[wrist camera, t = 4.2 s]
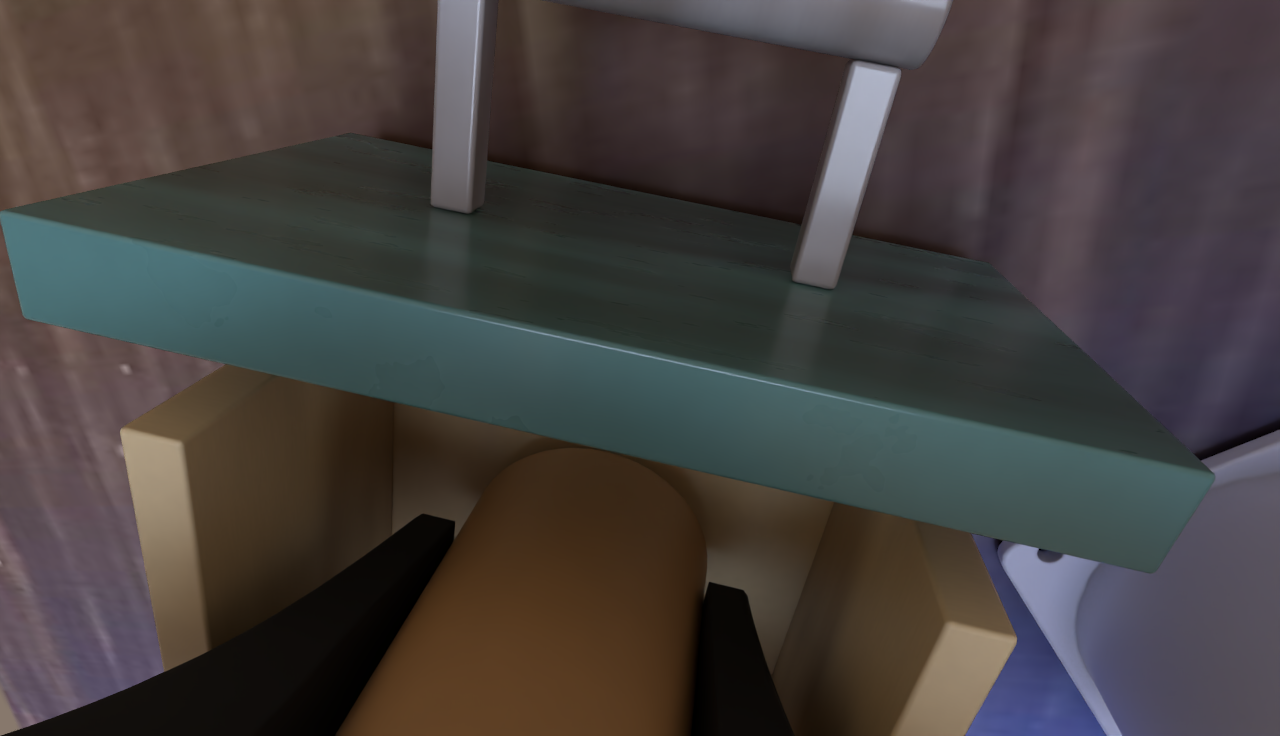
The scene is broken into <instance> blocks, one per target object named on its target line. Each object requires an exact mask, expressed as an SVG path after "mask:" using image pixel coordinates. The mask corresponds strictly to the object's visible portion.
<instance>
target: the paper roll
mask: <svg viewBox="0 0 1280 736" xmlns="http://www.w3.org/2000/svg"><path fill="white" fill-rule="evenodd" d="M706 573H707V549H706V542H705V538H704V535H703V532H702V529H701V527H700V524H699V522H698V520H697V518H696V516H695V514H694V513H693V511H692V510H691V508H690V507H689V505H688V504H687V502H686V501H685V500H684V499H683V498H682V496H681V495H680V494H679V493H678V492H677V491H676V490H675V489H674V488H673V487H672V486H671V485H670V484H669V483H668V482H666V481H665V480H664V479H663V478H661V477H660V476H658V475H657V474H656V473H654V472H653V471H651V470H650V469H648V468H646V467H644V466H642V465H640V464H639V463H637V462H634V461H632V460H629V459H627V458H625V457H622V456H619V455H615V454H612V453H609V452H605V451H599V450H593V449H584V448H563V449H554V450H548V451H543V452H539V453H536V454H533V455H530V456H527V457H525V458H523V459H521V460H519V461H517V462H515V463H513V464H511V465H510V466H508V467H507V468H506V469H504V470H503V471H501V472H500V473H499V474H498V475H497V476H496V477H495V478H494V479H493V480H492V481H491V482H490V484H489V485H488V486H487V488H486V489H485V490H484V492H483V494H482V495H481V497H480V499H479V500H478V502H477V503H476V505H475V507H474V508H473V510H472V512H471V513H470V515H469V517H468V518H467V520H466V521H465V523H464V525H463V526H462V528H461V530H460V531H459V533H458V535H457V536H456V538H455V540H454V541H453V543H452V544H451V546H450V548H449V549H448V551H447V553H446V554H445V556H444V558H443V559H442V561H441V562H440V564H439V566H438V567H437V569H436V571H435V572H434V574H433V576H432V577H431V579H430V580H429V582H428V584H427V585H426V587H425V589H424V590H423V592H422V594H421V595H420V597H419V599H418V600H417V602H416V603H415V605H414V607H413V608H412V610H411V612H410V613H409V615H408V617H407V618H406V620H405V621H404V623H403V625H402V626H401V628H400V630H399V631H398V633H397V635H396V636H395V638H394V640H393V641H392V643H391V644H390V646H389V648H388V649H387V651H386V653H385V654H384V656H383V658H382V659H381V661H380V662H379V664H378V666H377V667H376V669H375V671H374V672H373V674H372V676H371V677H370V679H369V681H368V682H367V684H366V685H365V687H364V689H363V690H362V692H361V694H360V695H359V697H358V699H357V700H356V702H355V703H354V705H353V707H352V708H351V710H350V712H349V713H348V715H347V717H346V718H345V720H344V721H343V723H342V725H341V726H340V728H339V730H338V731H337V733H336V735H335V736H691V731H692V721H693V710H694V700H695V689H696V678H697V664H698V650H699V639H700V628H701V618H702V608H703V601H704V595H705V584H706Z"/></svg>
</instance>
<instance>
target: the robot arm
mask: <svg viewBox="0 0 1280 736" xmlns="http://www.w3.org/2000/svg"><path fill="white" fill-rule="evenodd" d="M1201 462H1203V463H1204V464H1205V465H1206V466H1207V467H1208V468H1209V469H1210V470H1211V471H1212V472H1213V473H1214V474H1215V476H1216V477H1215V481H1214V483H1213V484H1212V486H1211V487H1210V489H1209V491H1208V492H1207V494H1206V495H1205V497H1204V498H1203V500H1202V501H1201V503H1200V505H1199V506H1198V508H1197V509H1196V511H1195V512H1194V514H1193V515H1192V517H1191V519H1190V520H1189V522H1188V523H1187V525H1186V526H1185V528H1184V529H1183V531H1182V532H1181V534H1180V536H1179V537H1178V539H1177V540H1176V542H1175V543H1174V545H1173V546H1172V548H1171V550H1170V551H1169V553H1168V554H1167V556H1166V557H1165V559H1164V560H1163V562H1162V564H1161V565H1160V567H1159V568H1158V570H1157V571H1156V572H1155V573H1151V574H1149V573H1145V572H1140V571H1136V570H1131V569H1127V568H1123V567H1118V566H1114V565H1109V564H1105V563H1101V562H1096V561H1092V560H1087V559H1083V558H1079V557H1074V556H1070V555H1065V554H1061V553H1056V552H1052V551H1048V550H1044V551H1041V550H1039V548H1034V547H1030V546H1026V545H1021V544H1017V543H1012V542H1008V541H1004V540H1003V541H1002V543H1001V544H1000V545H999V547H998V551H997V554H998V558H999V560H1000V563H1001V565H1002V567H1003V569H1004V570H1005V572H1006V574H1007V575H1008V577H1009V579H1010V580H1011V582H1012V583H1013V585H1014V587H1015V588H1016V590H1017V591H1018V593H1019V595H1020V596H1021V598H1022V600H1023V601H1024V603H1025V604H1026V606H1027V608H1028V609H1029V611H1030V612H1031V614H1032V616H1033V617H1034V619H1035V621H1036V622H1037V624H1038V625H1039V627H1040V629H1041V630H1042V632H1043V633H1044V635H1045V637H1046V638H1047V640H1048V642H1049V643H1050V645H1051V646H1052V648H1053V650H1054V651H1055V653H1056V654H1057V656H1058V658H1059V659H1060V661H1061V662H1062V664H1063V666H1064V667H1065V669H1066V671H1067V672H1068V674H1069V675H1070V677H1071V679H1072V680H1073V682H1074V683H1075V685H1076V687H1077V688H1078V690H1079V692H1080V693H1081V695H1082V696H1083V698H1084V700H1085V701H1086V703H1087V704H1088V706H1089V708H1090V709H1091V711H1092V713H1093V714H1094V716H1095V717H1096V719H1097V721H1098V722H1099V724H1100V725H1101V727H1102V729H1103V730H1104V732H1105V734H1106V735H1107V736H1280V430H1277V431H1275V432H1272V433H1270V434H1267V435H1265V436H1262V437H1259V438H1257V439H1254V440H1252V441H1249V442H1247V443H1244V444H1242V445H1239V446H1237V447H1234V448H1232V449H1229V450H1226V451H1224V452H1221V453H1219V454H1216V455H1214V456H1211V457H1209V458H1206V459H1204V460H1201ZM454 533H455V521H453V520H449V519H445V518H440V517H436V516H432V515H428V514H424V513H423V514H421V515H419V516H417V517H416V518H415V519H413V520H412V521H410V522H409V523H408V524H406V525H405V526H404V527H402V528H401V529H400V530H398V531H397V532H396V533H394V534H393V535H392V536H390V537H389V538H387V539H386V540H385V541H383V542H382V543H381V544H379V545H378V546H377V547H375V548H374V549H372V550H371V551H370V552H368V553H367V554H366V555H364V556H363V557H361V558H360V559H359V560H357V561H356V562H354V563H353V564H351V565H350V566H348V567H347V568H346V569H344V570H343V571H341V572H340V573H338V574H337V575H335V576H334V577H333V578H331V579H330V580H328V581H327V582H325V583H324V584H322V585H321V586H319V587H318V588H316V589H315V590H313V591H311V592H310V593H308V594H307V595H305V596H303V597H302V598H300V599H299V600H297V601H295V602H294V603H292V604H291V605H289V606H287V607H286V608H284V609H283V610H281V611H280V612H278V613H276V614H275V615H273V616H271V617H270V618H268V619H266V620H265V621H263V622H261V623H259V624H258V625H256V626H254V627H252V628H251V629H249V630H247V631H245V632H243V633H242V634H240V635H238V636H236V637H234V638H232V639H231V640H229V641H227V642H225V643H223V644H221V645H219V646H217V647H215V648H214V649H212V650H210V651H208V652H206V653H204V654H202V655H200V656H198V657H195V658H193V659H191V660H189V661H187V662H185V663H183V664H181V665H178V666H176V667H174V668H172V669H170V670H167V671H165V672H163V673H161V674H159V675H157V676H154V677H152V678H150V679H148V680H146V681H143V682H141V683H139V684H137V685H135V686H132V687H130V688H128V689H125V690H123V691H120V692H118V693H115V694H113V695H110V696H108V697H106V698H103V699H101V700H98V701H96V702H93V703H91V704H88V705H85V706H83V707H80V708H78V709H75V710H72V711H70V712H67V713H64V714H62V715H59V716H56V717H54V718H51V719H48V720H45V721H43V722H40V723H37V724H34V725H31V726H29V727H26V728H23V729H20V730H17V731H14V732H11V733H7V734H5V735H1V736H335V735H336V733H337V731H338V730H339V728H340V726H341V725H342V723H343V721H344V720H345V718H346V717H347V715H348V713H349V712H350V710H351V708H352V707H353V705H354V703H355V702H356V700H357V699H358V697H359V695H360V694H361V692H362V690H363V689H364V687H365V685H366V684H367V682H368V681H369V679H370V677H371V676H372V674H373V672H374V671H375V669H376V667H377V666H378V664H379V662H380V661H381V659H382V658H383V656H384V654H385V653H386V651H387V649H388V648H389V646H390V644H391V643H392V641H393V640H394V638H395V636H396V635H397V633H398V631H399V630H400V628H401V626H402V625H403V623H404V621H405V620H406V618H407V617H408V615H409V613H410V612H411V610H412V608H413V607H414V605H415V603H416V602H417V600H418V599H419V597H420V595H421V594H422V592H423V590H424V589H425V587H426V585H427V584H428V582H429V580H430V579H431V577H432V576H433V574H434V572H435V571H436V569H437V567H438V566H439V564H440V562H441V561H442V559H443V558H444V556H445V554H446V553H447V551H448V549H449V548H450V546H451V544H452V543H453V541H454ZM691 736H795V735H794V732H793V730H792V728H791V726H790V723H789V721H788V718H787V716H786V714H785V711H784V709H783V706H782V704H781V701H780V698H779V696H778V693H777V690H776V688H775V685H774V682H773V680H772V677H771V674H770V671H769V669H768V666H767V663H766V660H765V657H764V654H763V651H762V647H761V644H760V641H759V638H758V634H757V631H756V628H755V624H754V620H753V616H752V612H751V608H750V604H749V599H748V596H747V594H746V593H745V591H744V590H742V589H738V588H734V587H729V586H725V585H721V584H717V583H713V582H709V583H708V587H707V590H706V594H705V598H704V601H703V608H702V618H701V628H700V639H699V650H698V664H697V678H696V689H695V700H694V710H693V721H692V731H691Z"/></svg>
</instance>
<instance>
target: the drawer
mask: <svg viewBox="0 0 1280 736" xmlns="http://www.w3.org/2000/svg"><path fill="white" fill-rule="evenodd" d="M542 1H548V2H553V3H558V4H564V5H569V6H574V7H580V8H585V9H590V10H595V11H601V12H606V13H611V14H617V15H622V16H627V17H633V18H638V19H643V20H648V21H654V22H659V23H664V24H670V25H675V26H680V27H685V28H691V29H696V30H701V31H707V32H712V33H717V34H723V35H728V36H733V37H738V38H744V39H749V40H754V41H760V42H765V43H770V44H776V45H781V46H786V47H791V48H797V49H802V50H807V51H813V52H818V53H823V54H829V55H834V56H839V57H844V58H850V59H852V60H849V61H848V62H847V63H846V65H845V68H844V72H843V76H842V79H841V83H840V87H839V90H838V94H837V98H836V101H835V105H834V108H833V112H832V116H831V119H830V123H829V127H828V130H827V134H826V138H825V141H824V145H823V148H822V152H821V156H820V159H819V163H818V167H817V170H816V174H815V178H814V181H813V185H812V189H811V192H810V196H809V199H808V203H807V207H806V210H805V214H804V218H803V221H802V225H800V224H795V223H790V222H786V221H781V220H776V219H771V218H766V217H761V216H756V215H751V214H746V213H741V212H736V211H732V210H727V209H722V208H717V207H712V206H707V205H702V204H697V203H692V202H687V201H682V200H678V199H673V198H668V197H663V196H658V195H653V194H648V193H643V192H638V191H633V190H628V189H624V188H619V187H614V186H609V185H604V184H599V183H594V182H589V181H584V180H579V179H574V178H570V177H565V176H560V175H555V174H550V173H545V172H540V171H535V170H530V169H525V168H520V167H516V166H511V165H506V164H501V163H496V162H491V161H487V155H488V141H489V127H490V113H491V99H492V84H493V70H494V56H495V42H496V28H497V14H498V0H438V13H437V40H436V67H435V94H434V121H433V147H432V149H427V148H422V147H417V146H412V145H408V144H403V143H398V142H393V141H388V140H383V139H378V138H373V137H368V136H363V135H358V134H354V133H348V134H343V135H339V136H334V137H330V138H325V139H321V140H316V141H312V142H307V143H303V144H298V145H294V146H289V147H285V148H280V149H276V150H271V151H267V152H262V153H258V154H253V155H249V156H244V157H240V158H235V159H231V160H226V161H222V162H217V163H213V164H208V165H204V166H199V167H195V168H190V169H186V170H181V171H177V172H172V173H168V174H163V175H159V176H154V177H150V178H145V179H141V180H136V181H132V182H127V183H123V184H118V185H114V186H109V187H105V188H100V189H96V190H91V191H87V192H82V193H78V194H73V195H69V196H64V197H60V198H55V199H51V200H46V201H42V202H37V203H33V204H28V205H24V206H19V207H15V208H10V209H6V210H2V211H1V212H0V221H1V226H2V230H3V234H4V238H5V243H6V247H7V251H8V255H9V259H10V264H11V268H12V272H13V276H14V281H15V285H16V289H17V293H18V298H19V302H20V306H21V310H22V314H23V316H24V317H25V318H26V319H29V320H33V321H38V322H42V323H47V324H51V325H55V326H60V327H64V328H69V329H73V330H77V331H82V332H86V333H91V334H95V335H100V336H104V337H108V338H113V339H117V340H122V341H126V342H130V343H135V344H139V345H144V346H148V347H152V348H157V349H161V350H166V351H170V352H174V353H179V354H183V355H188V356H192V357H197V358H201V359H205V360H210V361H214V362H219V363H223V364H226V365H224V366H222V367H221V368H219V369H217V370H216V371H214V372H213V373H211V374H209V375H208V376H206V377H204V378H203V379H201V380H199V381H198V382H196V383H194V384H193V385H191V386H190V387H188V388H186V389H185V390H183V391H181V392H180V393H178V394H176V395H175V396H173V397H171V398H170V399H168V400H167V401H165V402H163V403H162V404H160V405H158V406H157V407H155V408H153V409H152V410H150V411H148V412H147V413H145V414H144V415H142V416H140V417H139V418H137V419H135V420H134V421H132V422H130V423H129V424H127V425H125V426H124V427H122V429H121V431H120V435H121V441H122V446H123V451H124V457H125V462H126V468H127V473H128V478H129V484H130V489H131V495H132V500H133V505H134V511H135V516H136V522H137V527H138V532H139V538H140V543H141V549H142V554H143V559H144V565H145V570H146V576H147V581H148V586H149V592H150V597H151V603H152V608H153V613H154V619H155V624H156V630H157V635H158V640H159V646H160V651H161V657H162V662H163V667H164V672H165V671H167V670H170V669H172V668H174V667H176V666H178V665H181V664H183V663H185V662H187V661H189V660H191V659H193V658H195V657H198V656H200V655H202V654H204V653H206V652H208V651H210V650H212V649H214V648H215V647H217V646H219V645H221V644H223V643H225V642H227V641H229V640H231V639H232V638H234V637H236V636H238V635H240V634H242V633H243V632H245V631H247V630H249V629H251V628H252V627H254V626H256V625H258V624H259V623H261V622H263V621H265V620H266V619H268V618H270V617H271V616H273V615H275V614H276V613H278V612H280V611H281V610H283V609H284V608H286V607H287V606H289V605H291V604H292V603H294V602H295V601H297V600H299V599H300V598H302V597H303V596H305V595H307V594H308V593H310V592H311V591H313V590H315V589H316V588H318V587H319V586H321V585H322V584H324V583H325V582H327V581H328V580H330V579H331V578H333V577H334V576H335V575H337V574H338V573H340V572H341V571H343V570H344V569H346V568H347V567H348V566H350V565H351V564H353V563H354V562H356V561H357V560H359V559H360V558H361V557H363V556H364V555H366V554H367V553H368V552H370V551H371V550H372V549H374V548H375V547H377V546H378V545H379V544H381V543H382V542H383V541H385V540H386V539H387V538H389V537H390V536H392V535H393V534H394V533H396V532H397V531H398V530H400V529H401V528H402V527H404V526H405V525H406V524H408V523H409V522H410V521H412V520H413V519H415V518H416V517H417V516H419V515H421V514H423V513H424V514H428V515H432V516H436V517H440V518H445V519H449V520H453V521H455V533H454V540H455V538H456V536H457V535H458V533H459V531H460V530H461V528H462V526H463V525H464V523H465V521H466V520H467V518H468V517H469V515H470V513H471V512H472V510H473V508H474V507H475V505H476V503H477V502H478V500H479V499H480V497H481V495H482V494H483V492H484V490H485V489H486V488H487V486H488V485H489V484H490V482H491V481H492V480H493V479H494V478H495V477H496V476H497V475H498V474H499V473H500V472H501V471H503V470H504V469H506V468H507V467H508V466H510V465H511V464H513V463H515V462H517V461H519V460H521V459H523V458H525V457H527V456H530V455H533V454H536V453H539V452H543V451H548V450H554V449H563V448H584V449H593V450H599V451H605V452H609V453H612V454H615V455H619V456H622V457H625V458H627V459H629V460H632V461H634V462H637V463H639V464H640V465H642V466H644V467H646V468H648V469H650V470H651V471H653V472H654V473H656V474H657V475H658V476H660V477H661V478H663V479H664V480H665V481H666V482H668V483H669V484H670V485H671V486H672V487H673V488H674V489H675V490H676V491H677V492H678V493H679V494H680V495H681V496H682V498H683V499H684V500H685V501H686V502H687V504H688V505H689V507H690V508H691V510H692V511H693V513H694V514H695V516H696V518H697V520H698V522H699V524H700V527H701V529H702V532H703V535H704V538H705V542H706V549H707V573H706V584H705V594H706V590H707V587H708V583H709V582H713V583H717V584H721V585H725V586H729V587H734V588H738V589H742V590H744V591H745V593H746V594H747V596H748V599H749V604H750V608H751V612H752V616H753V620H754V624H755V628H756V631H757V634H758V638H759V641H760V644H761V647H762V651H763V654H764V657H765V660H766V663H767V666H768V669H769V671H770V674H771V677H772V680H773V682H774V685H775V688H776V690H777V693H778V696H779V698H780V701H781V704H782V706H783V709H784V711H785V714H786V716H787V718H788V721H789V723H790V726H791V728H792V730H793V732H794V735H795V736H965V734H966V733H967V731H968V729H969V727H970V725H971V724H972V722H973V720H974V718H975V717H976V715H977V713H978V711H979V709H980V708H981V706H982V704H983V702H984V701H985V699H986V697H987V695H988V694H989V692H990V690H991V688H992V686H993V685H994V683H995V681H996V679H997V678H998V676H999V674H1000V672H1001V670H1002V669H1003V667H1004V665H1005V663H1006V662H1007V660H1008V658H1009V656H1010V654H1011V653H1012V651H1013V649H1014V647H1015V646H1016V644H1017V636H1016V634H1015V631H1014V629H1013V627H1012V625H1011V622H1010V620H1009V618H1008V616H1007V613H1006V611H1005V609H1004V607H1003V604H1002V602H1001V600H1000V598H999V595H998V593H997V591H996V589H995V586H994V584H993V582H992V580H991V577H990V575H989V573H988V571H987V568H986V566H985V564H984V562H983V559H982V557H981V555H980V552H979V550H978V548H977V546H976V543H975V541H974V539H973V537H972V534H971V533H973V534H977V535H981V536H986V537H990V538H995V539H999V540H1004V541H1008V542H1012V543H1017V544H1021V545H1026V546H1030V547H1034V548H1039V549H1043V550H1048V551H1052V552H1056V553H1061V554H1065V555H1070V556H1074V557H1079V558H1083V559H1087V560H1092V561H1096V562H1101V563H1105V564H1109V565H1114V566H1118V567H1123V568H1127V569H1131V570H1136V571H1140V572H1145V573H1149V574H1151V573H1155V572H1156V571H1157V570H1158V568H1159V567H1160V565H1161V564H1162V562H1163V560H1164V559H1165V557H1166V556H1167V554H1168V553H1169V551H1170V550H1171V548H1172V546H1173V545H1174V543H1175V542H1176V540H1177V539H1178V537H1179V536H1180V534H1181V532H1182V531H1183V529H1184V528H1185V526H1186V525H1187V523H1188V522H1189V520H1190V519H1191V517H1192V515H1193V514H1194V512H1195V511H1196V509H1197V508H1198V506H1199V505H1200V503H1201V501H1202V500H1203V498H1204V497H1205V495H1206V494H1207V492H1208V491H1209V489H1210V487H1211V486H1212V484H1213V483H1214V481H1215V477H1216V476H1215V474H1214V473H1213V472H1212V471H1211V470H1210V469H1209V468H1208V467H1207V466H1206V465H1205V464H1204V463H1203V462H1201V461H1200V460H1199V459H1198V458H1197V457H1196V456H1195V455H1194V454H1193V453H1192V452H1191V451H1190V450H1189V449H1188V448H1186V447H1185V446H1184V445H1183V444H1182V443H1181V442H1180V441H1179V440H1178V439H1177V438H1176V437H1175V436H1174V435H1173V434H1172V433H1170V432H1169V431H1168V430H1167V429H1166V428H1165V427H1164V426H1163V425H1162V424H1161V423H1160V422H1159V421H1158V420H1157V419H1155V418H1154V417H1153V416H1152V415H1151V414H1150V413H1149V412H1148V411H1147V410H1146V409H1145V408H1144V407H1143V406H1142V405H1140V404H1139V403H1138V402H1137V401H1136V400H1135V399H1134V398H1133V397H1132V396H1131V395H1130V394H1129V393H1128V392H1127V391H1125V390H1124V389H1123V388H1122V387H1121V386H1120V385H1119V384H1118V383H1117V382H1116V381H1115V380H1114V379H1113V378H1112V377H1111V376H1109V375H1108V374H1107V373H1106V372H1105V371H1104V370H1103V369H1102V368H1101V367H1100V366H1099V365H1098V364H1097V363H1096V362H1094V361H1093V360H1092V359H1091V358H1090V357H1089V356H1088V355H1087V354H1086V353H1085V352H1084V351H1083V350H1082V349H1081V348H1079V347H1078V346H1077V345H1076V344H1075V343H1074V342H1073V341H1072V340H1071V339H1070V338H1069V337H1068V336H1067V335H1066V334H1064V333H1063V332H1062V331H1061V330H1060V329H1059V328H1058V327H1057V326H1056V325H1055V324H1054V323H1053V322H1052V321H1051V320H1050V319H1048V318H1047V317H1046V316H1045V315H1044V314H1043V313H1042V312H1041V311H1040V310H1039V309H1038V308H1037V307H1036V306H1035V305H1033V304H1032V303H1031V302H1030V301H1029V300H1028V299H1027V298H1026V297H1025V296H1024V295H1023V294H1022V293H1021V292H1020V291H1018V290H1017V289H1016V288H1015V287H1014V286H1013V285H1012V284H1011V283H1010V282H1009V281H1008V280H1007V279H1006V278H1005V277H1004V276H1002V275H1001V274H1000V273H999V272H998V271H997V270H996V269H995V268H994V267H993V266H992V265H991V264H989V263H987V262H982V261H977V260H972V259H967V258H962V257H957V256H952V255H948V254H943V253H938V252H933V251H928V250H923V249H918V248H913V247H908V246H903V245H898V244H894V243H889V242H884V241H879V240H874V239H869V238H864V237H859V236H854V235H852V234H853V231H854V227H855V224H856V221H857V218H858V214H859V211H860V208H861V205H862V202H863V198H864V195H865V192H866V189H867V185H868V182H869V179H870V176H871V172H872V169H873V166H874V163H875V159H876V156H877V153H878V150H879V147H880V143H881V140H882V137H883V134H884V130H885V127H886V124H887V121H888V117H889V114H890V111H891V108H892V105H893V101H894V98H895V95H896V92H897V88H898V85H899V82H900V79H901V70H900V69H899V68H903V69H908V70H913V69H918V68H919V67H920V66H921V65H922V64H923V63H924V62H925V60H926V59H927V57H928V56H929V54H930V53H931V51H932V49H933V48H934V46H935V44H936V42H937V40H938V38H939V36H940V34H941V31H942V29H943V27H944V24H945V22H946V19H947V17H948V14H949V12H950V9H951V6H952V3H953V0H542ZM704 598H705V595H704Z"/></svg>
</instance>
